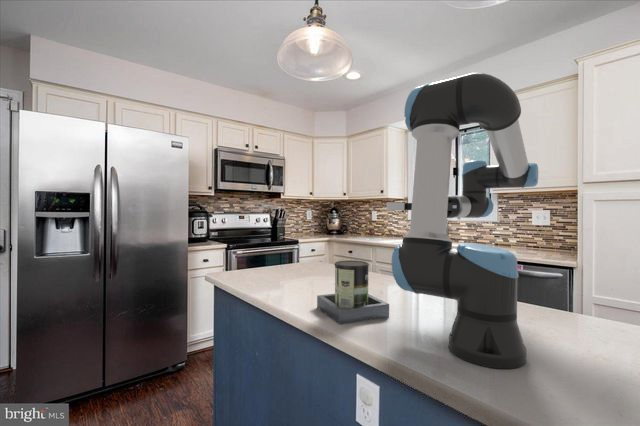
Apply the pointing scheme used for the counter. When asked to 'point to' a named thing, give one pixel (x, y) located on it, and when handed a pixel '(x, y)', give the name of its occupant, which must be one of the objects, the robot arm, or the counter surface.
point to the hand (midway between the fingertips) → (400, 206)
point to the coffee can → (351, 283)
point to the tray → (352, 309)
